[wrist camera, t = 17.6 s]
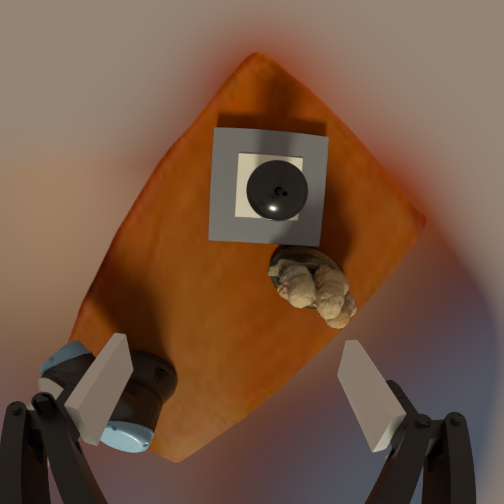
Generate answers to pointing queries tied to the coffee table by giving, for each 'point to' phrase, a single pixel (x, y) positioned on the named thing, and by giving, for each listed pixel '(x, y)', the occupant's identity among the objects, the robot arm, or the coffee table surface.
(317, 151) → the base
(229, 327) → the coffee table surface
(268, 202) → the drinking cup
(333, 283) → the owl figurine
